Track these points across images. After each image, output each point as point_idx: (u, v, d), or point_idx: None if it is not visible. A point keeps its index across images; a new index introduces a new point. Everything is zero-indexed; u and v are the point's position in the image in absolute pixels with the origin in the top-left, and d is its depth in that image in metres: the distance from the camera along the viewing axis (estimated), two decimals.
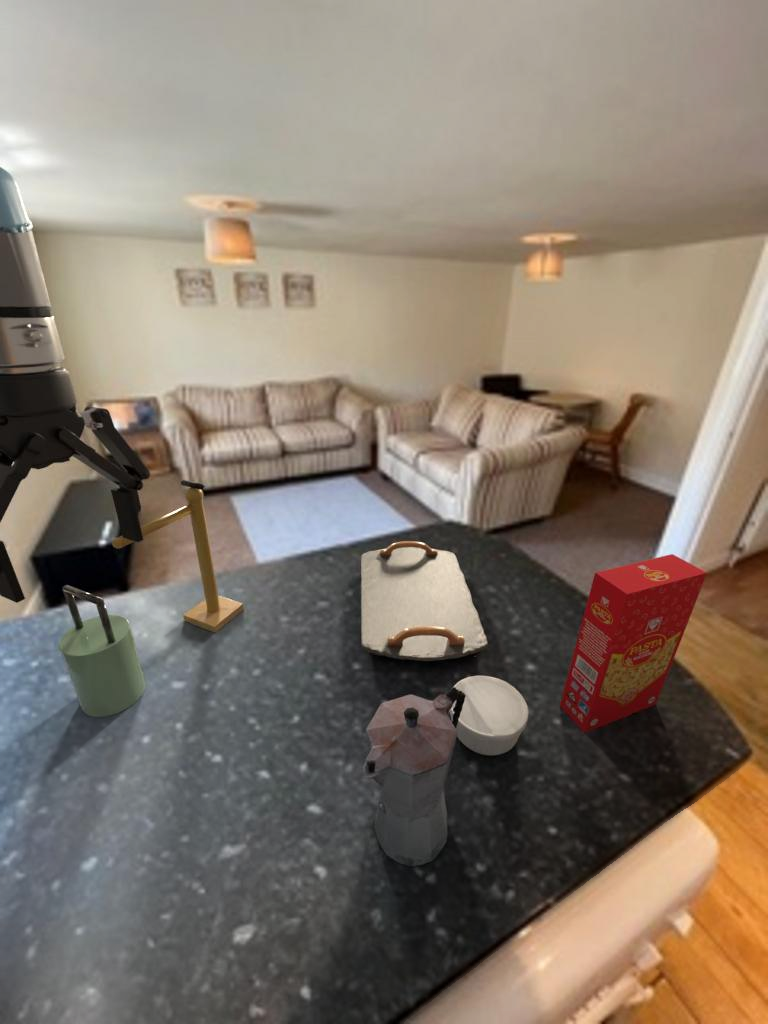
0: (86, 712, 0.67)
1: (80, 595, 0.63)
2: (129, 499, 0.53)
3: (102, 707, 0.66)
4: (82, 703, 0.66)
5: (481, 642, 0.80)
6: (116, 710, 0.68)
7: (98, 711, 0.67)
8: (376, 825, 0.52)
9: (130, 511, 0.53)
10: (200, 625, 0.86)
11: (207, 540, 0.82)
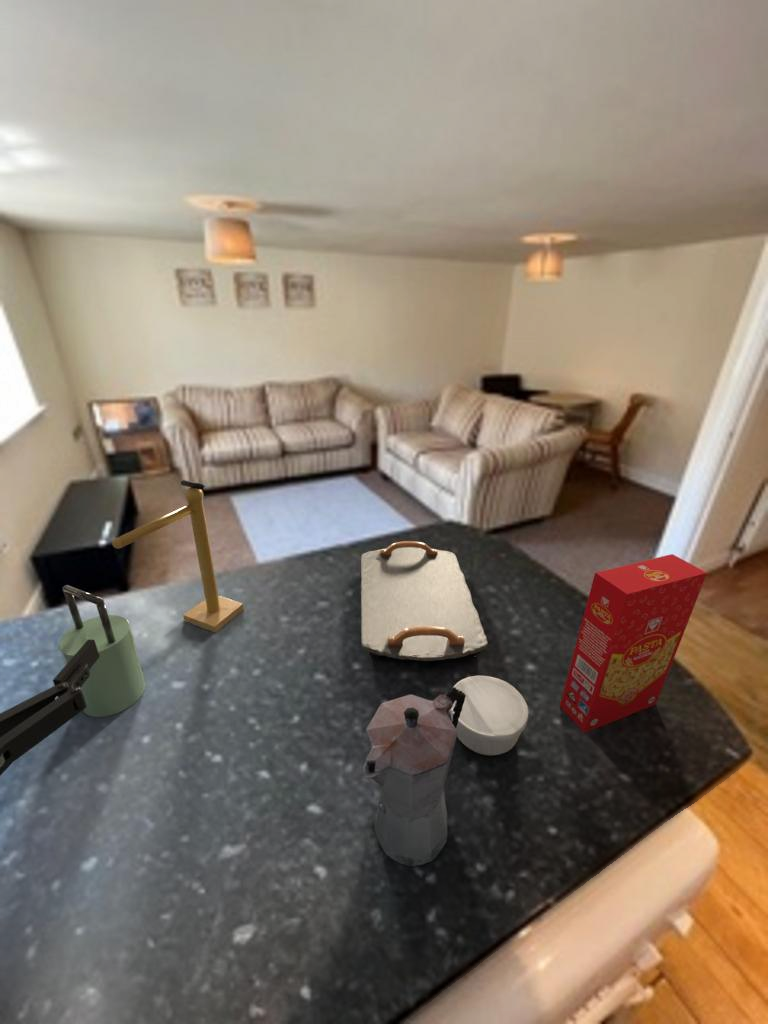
0: (86, 712, 0.67)
1: (80, 595, 0.63)
2: None
3: (102, 707, 0.66)
4: None
5: (481, 642, 0.80)
6: (116, 710, 0.68)
7: (98, 711, 0.67)
8: (376, 825, 0.52)
9: None
10: (200, 625, 0.86)
11: (207, 540, 0.82)
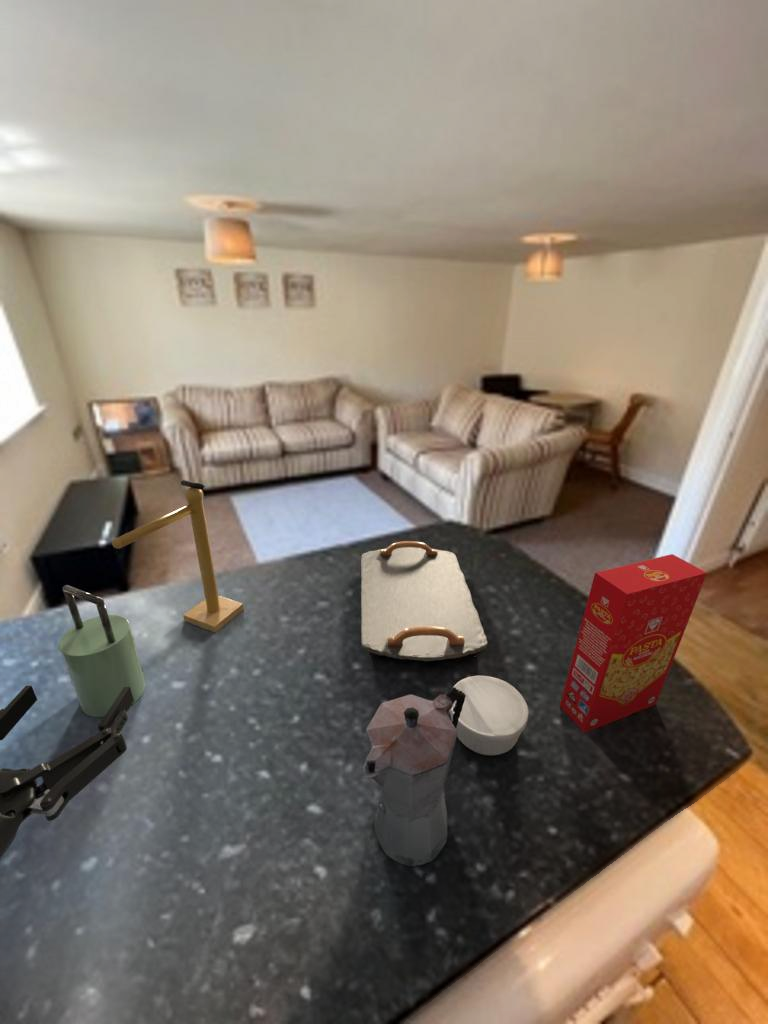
0: (86, 712, 0.67)
1: (80, 595, 0.63)
2: None
3: (102, 707, 0.66)
4: (82, 703, 0.66)
5: (481, 642, 0.80)
6: None
7: (98, 711, 0.67)
8: (376, 825, 0.52)
9: None
10: (200, 625, 0.86)
11: (207, 540, 0.82)
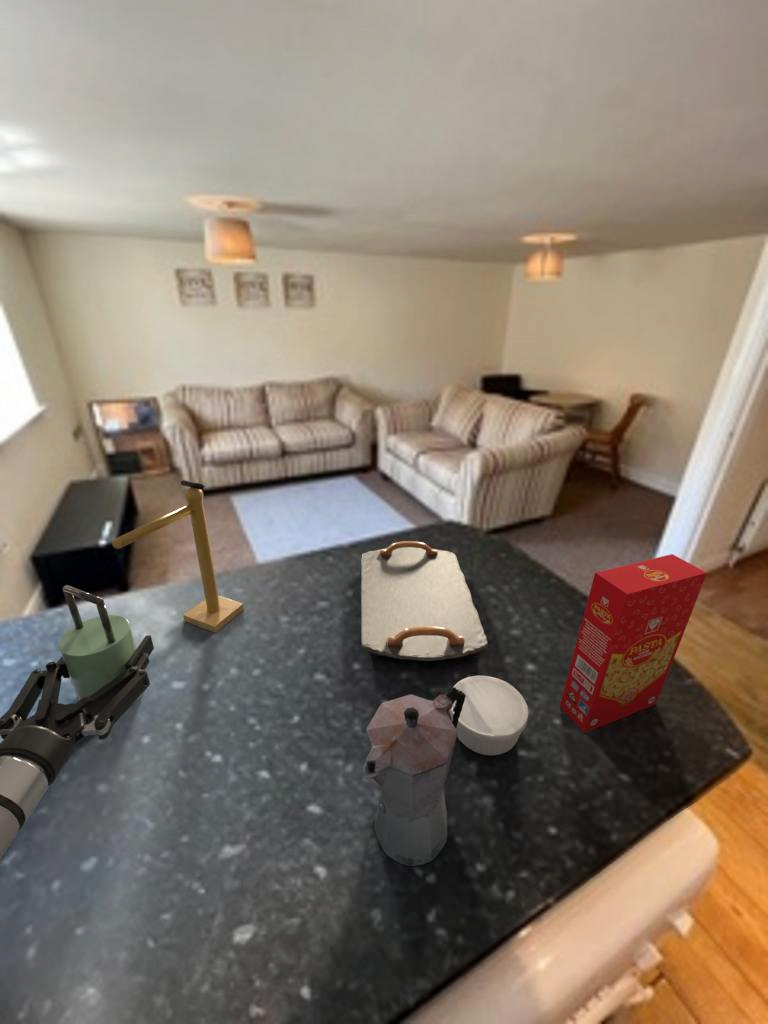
0: None
1: (80, 595, 0.63)
2: None
3: None
4: None
5: (481, 642, 0.80)
6: None
7: None
8: (376, 825, 0.52)
9: None
10: (200, 625, 0.86)
11: (207, 540, 0.82)
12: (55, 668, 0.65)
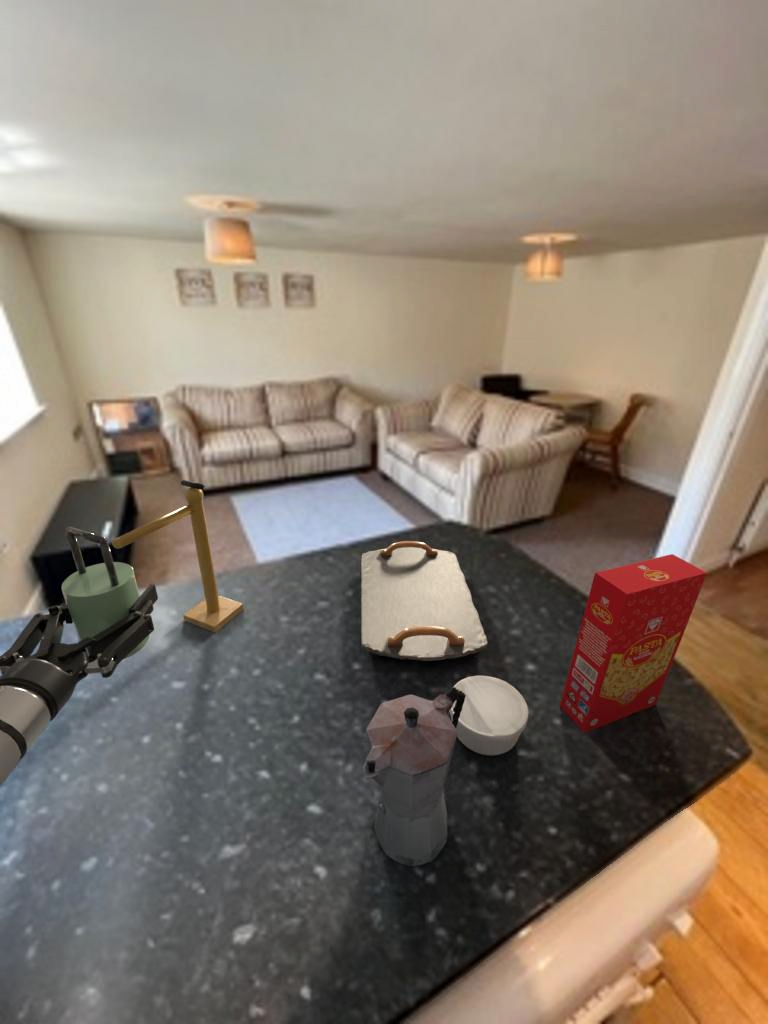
0: None
1: (83, 535, 0.61)
2: None
3: None
4: None
5: (481, 642, 0.80)
6: None
7: None
8: (376, 825, 0.52)
9: None
10: (200, 625, 0.86)
11: (207, 540, 0.82)
12: (57, 612, 0.64)
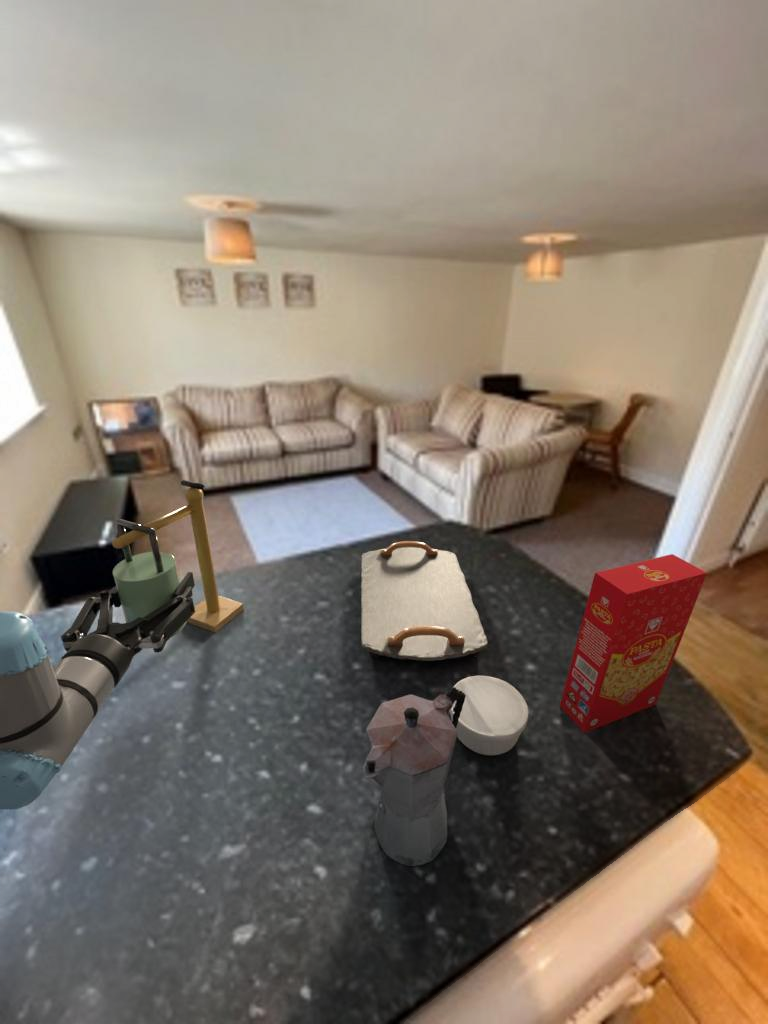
0: None
1: (133, 526, 0.68)
2: None
3: None
4: None
5: (481, 642, 0.80)
6: None
7: None
8: (376, 825, 0.52)
9: None
10: (200, 625, 0.86)
11: (207, 540, 0.82)
12: (108, 596, 0.71)
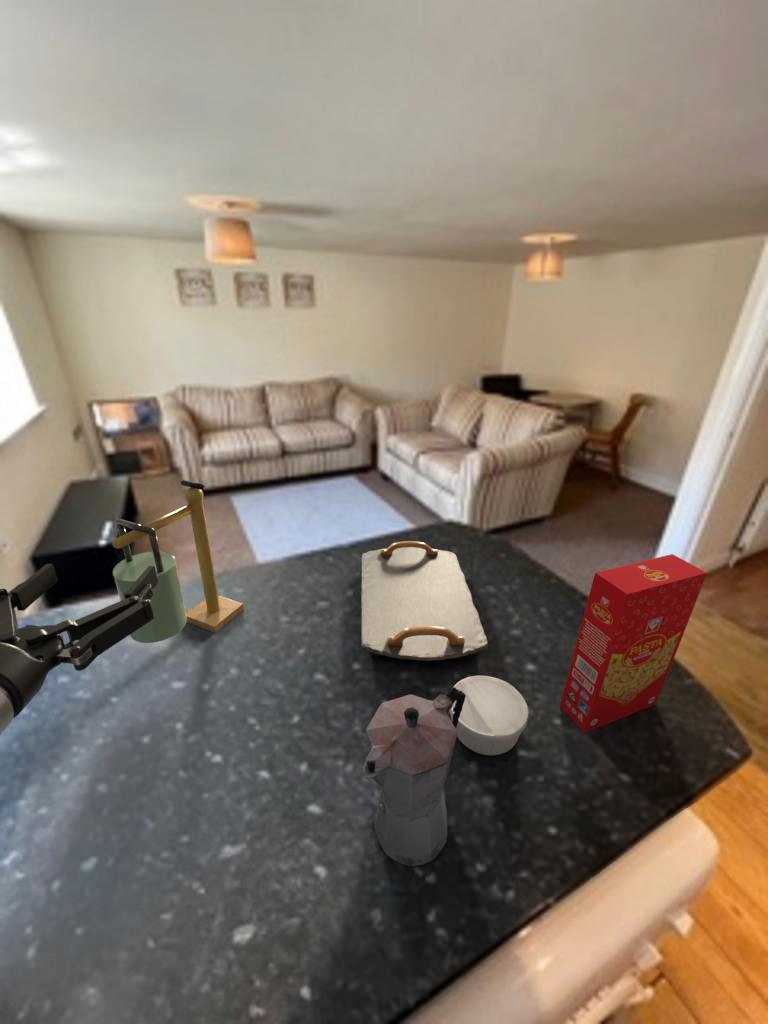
0: (135, 638, 0.73)
1: (133, 526, 0.68)
2: None
3: (150, 633, 0.72)
4: None
5: (481, 642, 0.80)
6: (163, 637, 0.73)
7: (147, 637, 0.72)
8: (376, 825, 0.52)
9: None
10: (200, 625, 0.86)
11: (207, 540, 0.82)
12: (6, 596, 0.54)
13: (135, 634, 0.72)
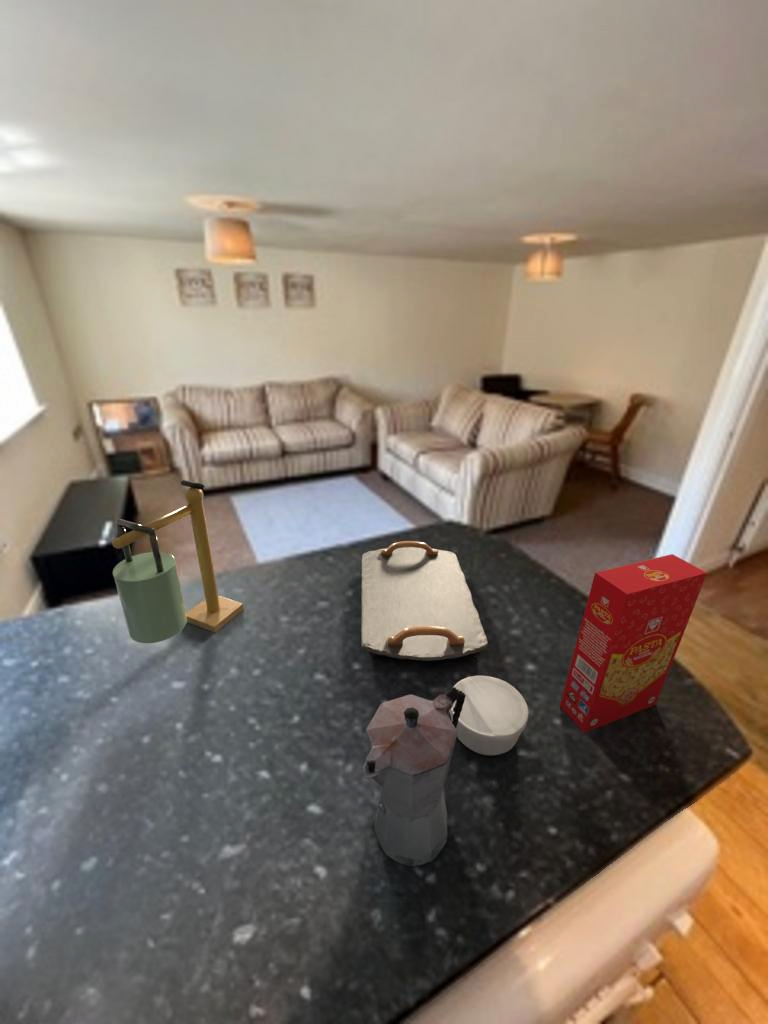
0: (135, 639, 0.73)
1: (133, 526, 0.68)
2: None
3: (150, 633, 0.72)
4: (132, 630, 0.72)
5: (481, 642, 0.80)
6: (163, 637, 0.73)
7: (147, 637, 0.72)
8: (376, 825, 0.52)
9: None
10: (200, 625, 0.86)
11: (207, 540, 0.82)
12: None
13: (135, 634, 0.72)
